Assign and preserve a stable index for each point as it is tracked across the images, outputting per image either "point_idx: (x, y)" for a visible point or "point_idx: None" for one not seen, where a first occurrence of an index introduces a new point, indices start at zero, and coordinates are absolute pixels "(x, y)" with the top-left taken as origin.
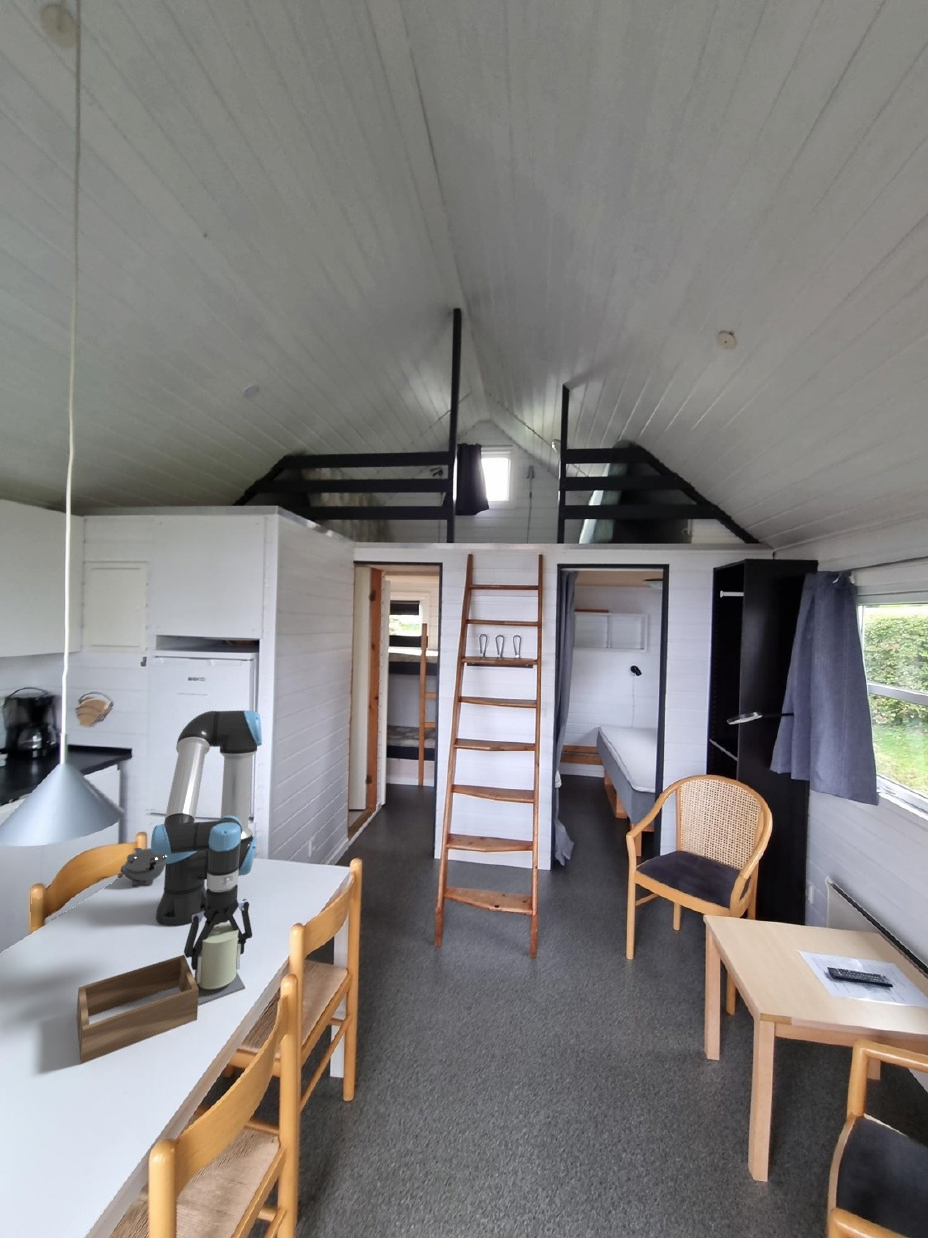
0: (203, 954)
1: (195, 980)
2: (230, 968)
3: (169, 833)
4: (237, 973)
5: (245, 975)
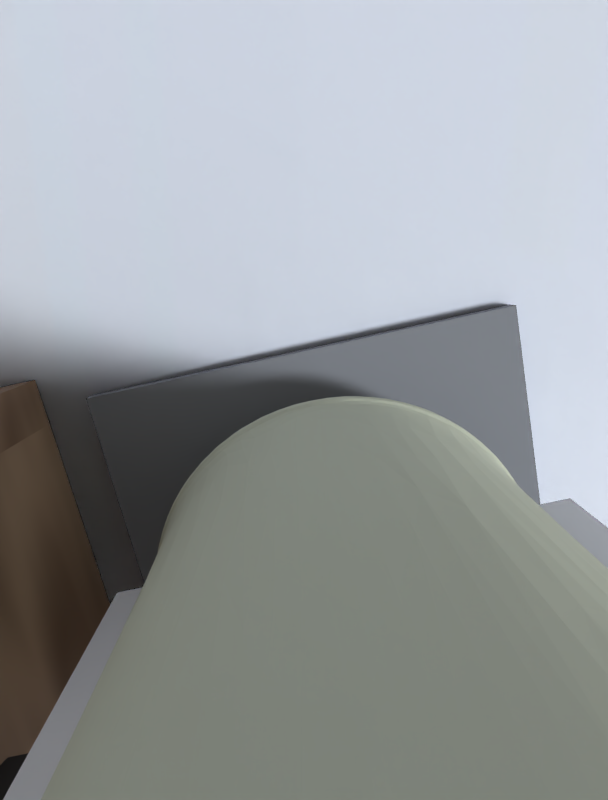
0: None
1: (150, 436)
2: None
3: None
4: (535, 474)
5: (593, 493)
